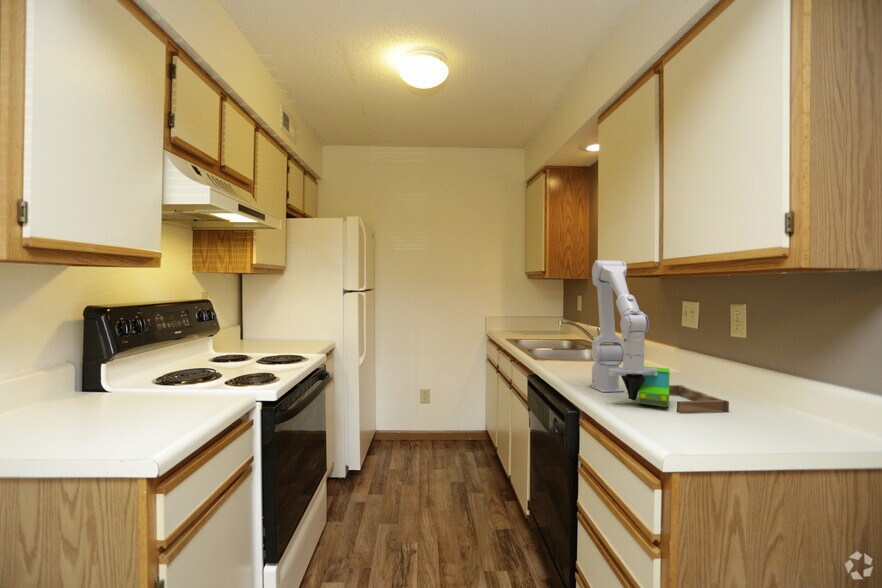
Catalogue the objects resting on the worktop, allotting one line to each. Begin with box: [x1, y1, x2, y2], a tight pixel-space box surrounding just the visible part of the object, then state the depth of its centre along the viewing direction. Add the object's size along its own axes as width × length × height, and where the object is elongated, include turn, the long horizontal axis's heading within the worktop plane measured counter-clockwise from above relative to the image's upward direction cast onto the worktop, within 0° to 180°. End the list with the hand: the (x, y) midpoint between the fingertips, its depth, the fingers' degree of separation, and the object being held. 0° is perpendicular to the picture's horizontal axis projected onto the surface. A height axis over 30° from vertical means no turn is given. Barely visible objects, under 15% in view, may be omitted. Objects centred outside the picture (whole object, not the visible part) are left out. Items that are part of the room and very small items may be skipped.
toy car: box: [637, 365, 673, 409], centre depth 131 cm, size 10×13×10 cm
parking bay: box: [669, 384, 730, 414], centre depth 132 cm, size 20×15×3 cm
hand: (632, 399), depth 130 cm, fingers closed
